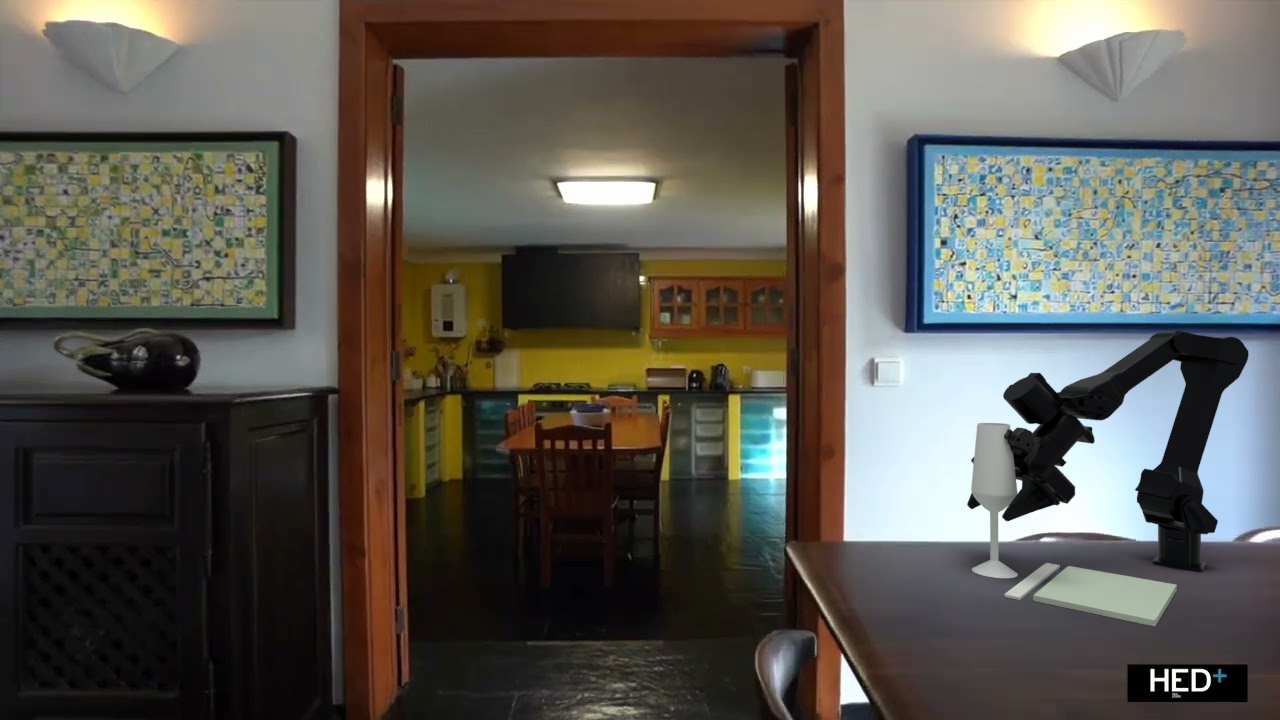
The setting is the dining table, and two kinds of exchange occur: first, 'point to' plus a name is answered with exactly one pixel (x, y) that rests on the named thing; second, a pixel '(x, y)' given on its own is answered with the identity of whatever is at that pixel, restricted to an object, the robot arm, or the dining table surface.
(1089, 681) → the dining table surface
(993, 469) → the champagne flute
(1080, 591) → the pale green flat slabs
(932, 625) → the dining table surface
